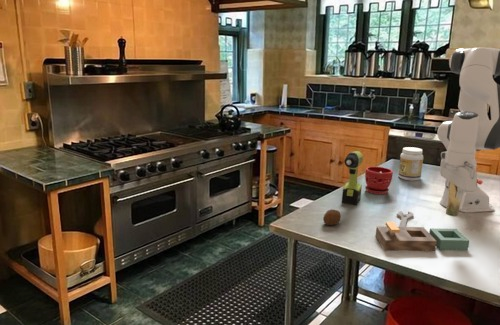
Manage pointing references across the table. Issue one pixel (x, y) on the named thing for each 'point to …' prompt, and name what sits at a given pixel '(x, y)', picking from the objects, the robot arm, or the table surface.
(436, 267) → the table surface
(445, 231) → the green square frame
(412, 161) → the supplement tub
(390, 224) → the block
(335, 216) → the potato
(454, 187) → the gold rounded cylinder
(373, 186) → the plant pot
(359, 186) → the cordless drill
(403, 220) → the adjustable wrench
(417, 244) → the socket block
